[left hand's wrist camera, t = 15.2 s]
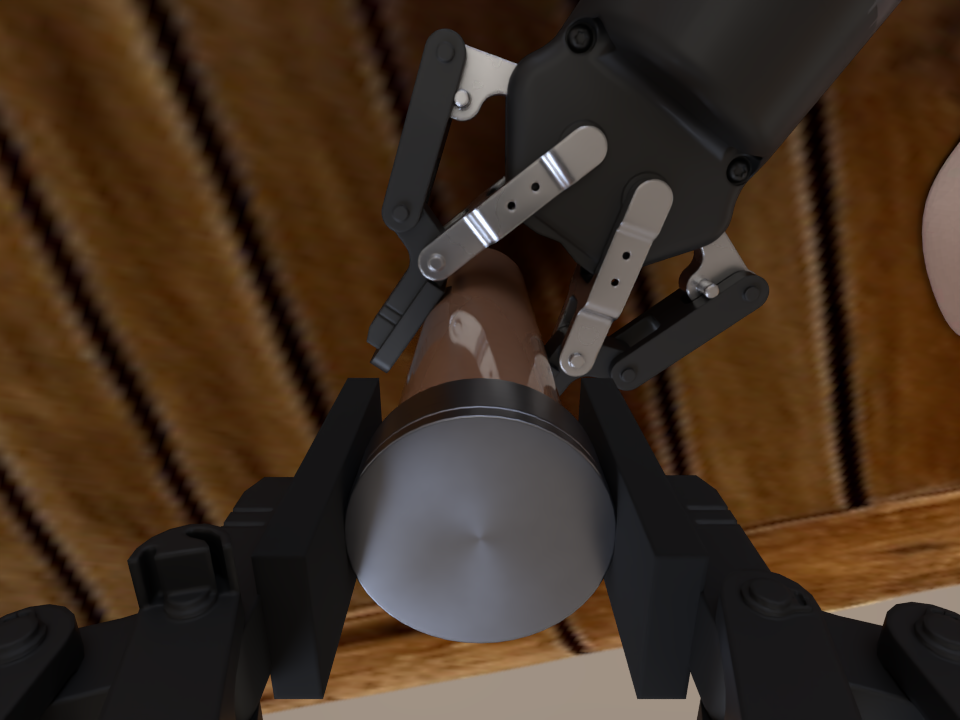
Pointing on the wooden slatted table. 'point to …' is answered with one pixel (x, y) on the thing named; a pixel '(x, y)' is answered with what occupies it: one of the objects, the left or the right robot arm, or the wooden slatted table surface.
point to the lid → (480, 513)
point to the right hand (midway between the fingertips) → (438, 394)
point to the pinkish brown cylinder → (482, 331)
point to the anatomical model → (944, 239)
